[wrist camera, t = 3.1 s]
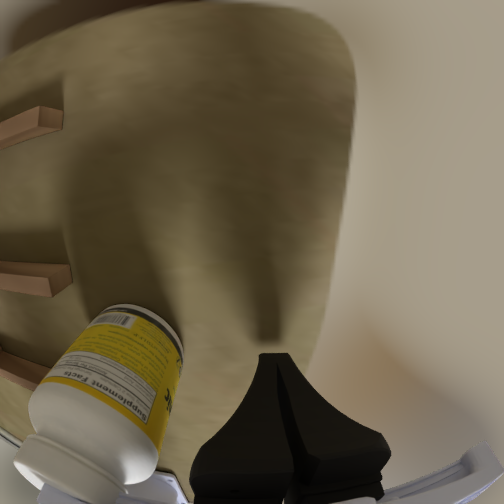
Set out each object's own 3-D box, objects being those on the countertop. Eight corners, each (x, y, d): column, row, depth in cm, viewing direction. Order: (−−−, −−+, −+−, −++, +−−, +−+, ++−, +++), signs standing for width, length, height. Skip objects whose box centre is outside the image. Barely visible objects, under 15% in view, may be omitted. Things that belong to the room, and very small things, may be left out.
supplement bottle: (156, 394, 14) (112, 531, 5) (84, 341, 13) (-3, 460, 4) (207, 345, 13) (171, 531, 4) (120, 279, 12) (-12, 422, 3)
